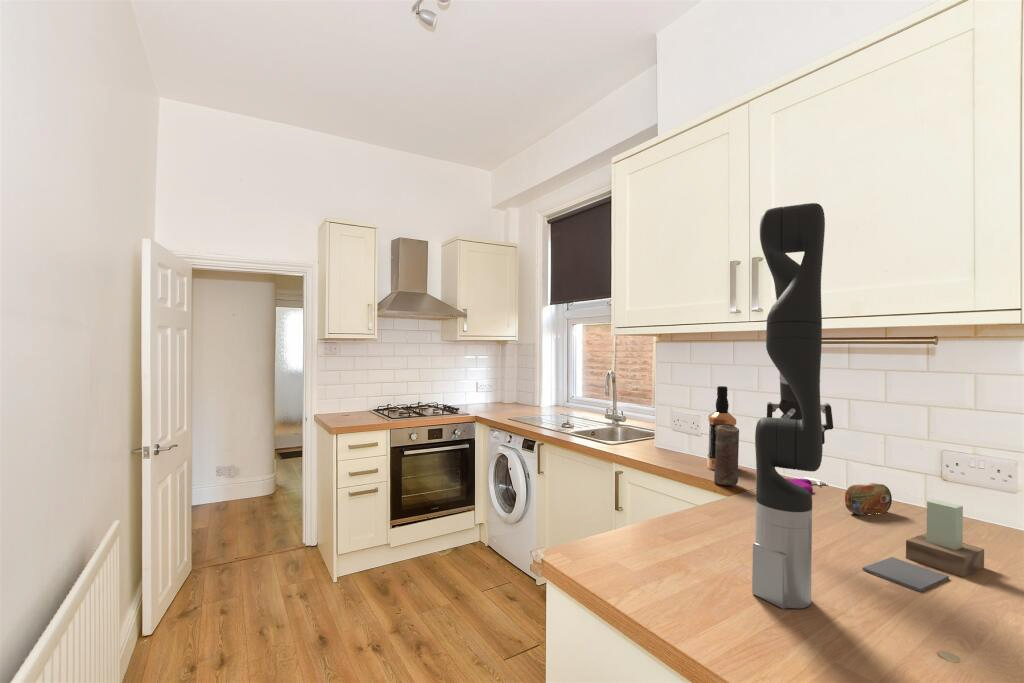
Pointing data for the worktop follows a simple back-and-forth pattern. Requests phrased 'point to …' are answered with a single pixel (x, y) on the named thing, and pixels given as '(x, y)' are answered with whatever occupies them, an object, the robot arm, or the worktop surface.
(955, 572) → the brown rectangular box
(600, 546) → the worktop surface
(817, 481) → the spray bottle
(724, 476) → the candle
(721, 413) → the whiskey bottle
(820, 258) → the robot arm
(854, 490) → the tin
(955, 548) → the pale green rectangular block
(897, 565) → the mat
